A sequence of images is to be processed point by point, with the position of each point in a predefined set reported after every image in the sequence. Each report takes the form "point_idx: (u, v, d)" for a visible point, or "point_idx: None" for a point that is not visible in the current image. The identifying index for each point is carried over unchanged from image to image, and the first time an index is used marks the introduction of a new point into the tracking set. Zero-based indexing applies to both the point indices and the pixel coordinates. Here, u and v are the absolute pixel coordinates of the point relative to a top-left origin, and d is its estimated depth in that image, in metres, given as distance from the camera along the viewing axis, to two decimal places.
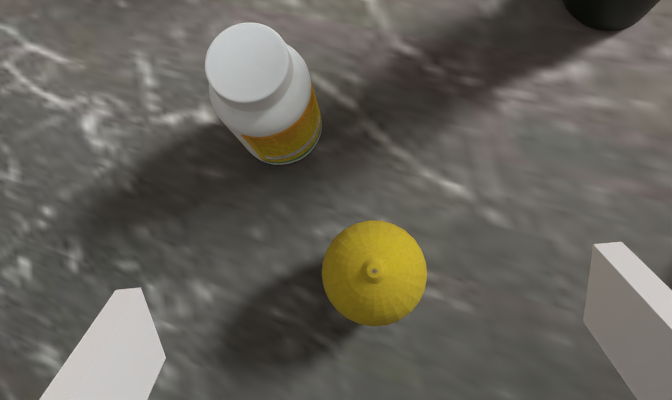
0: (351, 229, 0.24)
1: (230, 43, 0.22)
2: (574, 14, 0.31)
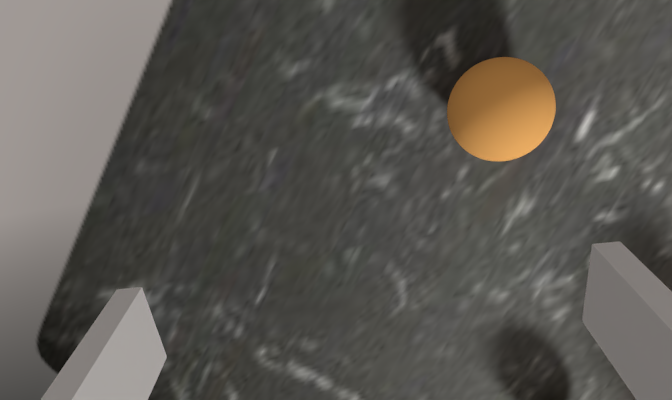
0: None
1: None
2: None
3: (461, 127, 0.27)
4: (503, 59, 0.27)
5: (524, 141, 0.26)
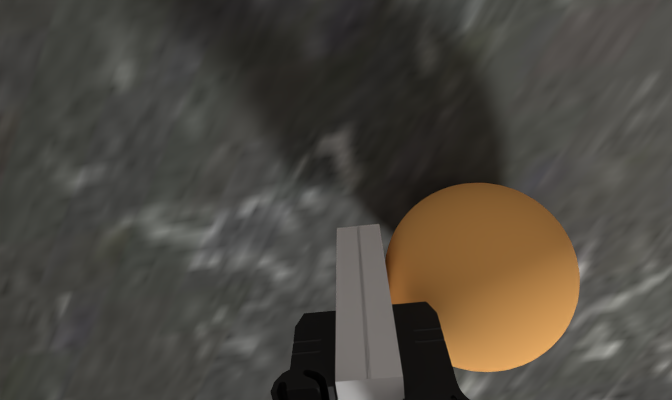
0: None
1: None
2: None
3: None
4: (490, 193, 0.14)
5: (549, 346, 0.14)
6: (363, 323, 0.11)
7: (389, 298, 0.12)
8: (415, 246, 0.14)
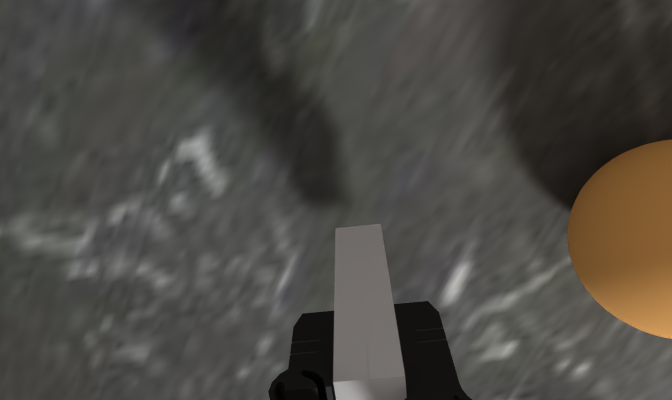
0: None
1: None
2: None
3: None
4: None
5: None
6: (365, 323, 0.11)
7: (391, 298, 0.12)
8: None
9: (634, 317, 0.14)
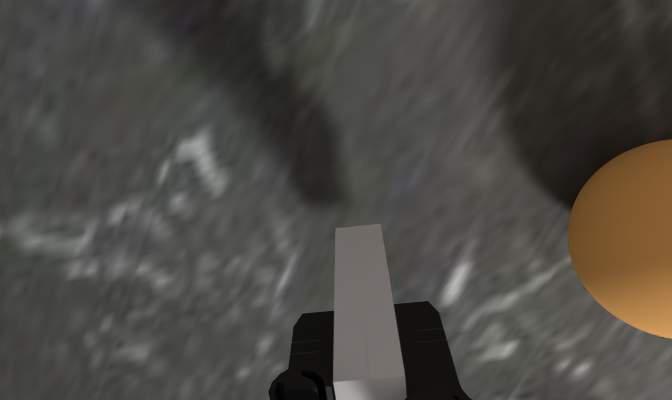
0: None
1: None
2: None
3: None
4: None
5: None
6: (365, 323, 0.11)
7: (391, 298, 0.12)
8: None
9: (635, 317, 0.14)
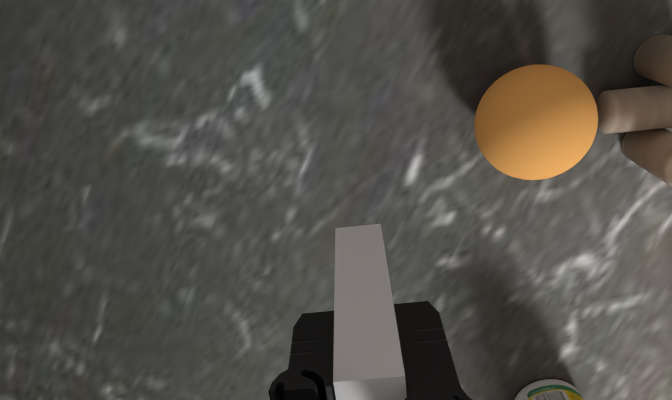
0: None
1: None
2: None
3: None
4: (528, 66, 0.24)
5: None
6: (365, 323, 0.11)
7: (391, 298, 0.12)
8: None
9: (504, 163, 0.24)
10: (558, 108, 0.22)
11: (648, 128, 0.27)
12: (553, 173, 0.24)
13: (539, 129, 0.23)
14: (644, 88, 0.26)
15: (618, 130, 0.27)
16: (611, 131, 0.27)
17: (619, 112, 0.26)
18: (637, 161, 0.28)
